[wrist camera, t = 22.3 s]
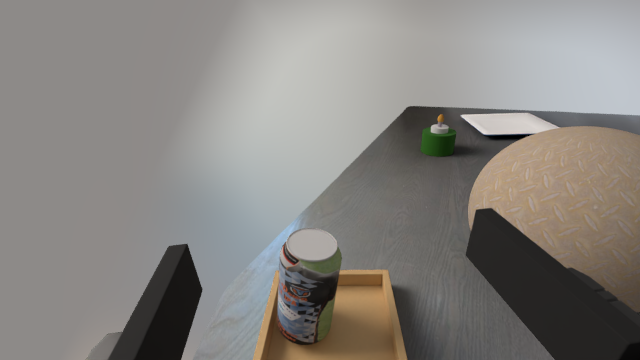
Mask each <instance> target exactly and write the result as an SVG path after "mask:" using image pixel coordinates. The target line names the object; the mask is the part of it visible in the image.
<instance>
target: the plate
mask: <svg viewBox="0 0 640 360" xmlns="http://www.w3.org/2000/svg"><path fill="white" fill-rule="evenodd" d="M460 116H461V117H462V118H463V119H464V120H466V121H467V122H468V123H469V124H471V125H472V126H473V127H474V128H476V129H477V130H478V131H479V132H481V133H482V134H483V135H485V136H495V135H533V134H536V133H539V132H543V131H547V130H551V129H557V128H560V127H557V126H555V125H553V124H551V123H549V122H547V121H544V120H542V119H540V118H538V117H536V116H534V115H531V114H529V113H505V114H473V115H460Z"/></svg>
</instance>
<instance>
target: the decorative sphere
mask: <svg viewBox="0 0 640 360" xmlns="http://www.w3.org/2000/svg"><path fill="white" fill-rule="evenodd" d="M485 208H492V209H493V210H495V211H496V212H497V213H498V214H500V215H501V216H502V217H503V218H505V219H506V220H507V221H508V222H510V223H511V224H512V225H513V226H515V227H516V228H517V229H518V230H520V231H521V232H522V233H523V234H525V235H526V236H527V237H528V238H530V239H531V240H532V241H533V242H535V243H536V244H537V245H538V246H540V247H541V248H542V249H543V250H545V251H546V252H547V253H548V254H550V255H551V256H552V257H553V258H555V259H556V260H557V261H558V262H560V263H561V264H562V265H563V266H564V267H566V268H571V267H572V268H574V269H576V270H578V271H580V272H582V273H584V274H586V275H587V276H589V277H591V278H592V279H593V280H595V281H596V282H597V283H599V284H600V285H601V286H603V287H604V288H605V290H606V291H609V292H610V293H612V294H613V295H614V296H616V297H617V298H618V300H619V301H622V302H623V303H625V304H626V305H627V306H629V307H630V308H631V309H632V310H634V311H635V312H640V136H639V135H636V134H633V133H629V132H626V131H621V130H617V129H611V128H604V127H592V126H574V127H563V128H557V129H551V130H547V131H543V132H539V133H536V134H533V135H530V136H527V137H525V138H523V139H521V140H519V141H517V142H515V143H513V144H511V145H509V146H508V147H506V148H505V149H503V150H502V151H501V152H499V153H498V154H497V155H496V156H495V157H493V158H492V159H491V160H490V161H489V163H488V164H487V165H486V166H485V167H484V168H483V170H482V171H481V173H480V174H479V176H478V177H477V179H476V181H475V183H474V186H473V188H472V191H471V194H470V199H469V206H468V219H469V226H470V230H471V229H472V225H473V221H474V216H475V212H476V210H477V209H485Z"/></svg>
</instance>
